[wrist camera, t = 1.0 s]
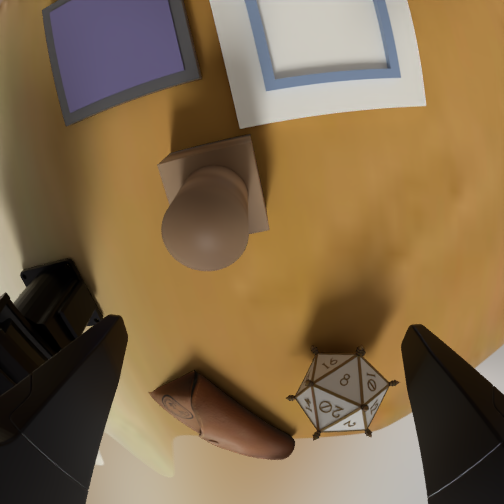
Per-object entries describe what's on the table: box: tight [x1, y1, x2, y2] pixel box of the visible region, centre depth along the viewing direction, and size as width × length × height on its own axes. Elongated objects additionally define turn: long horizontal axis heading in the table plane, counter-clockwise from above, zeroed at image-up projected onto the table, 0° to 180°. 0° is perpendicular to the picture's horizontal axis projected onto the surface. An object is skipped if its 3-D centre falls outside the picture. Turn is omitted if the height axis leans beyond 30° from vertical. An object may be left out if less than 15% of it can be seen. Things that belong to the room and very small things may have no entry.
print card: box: [209, 0, 426, 129], centre depth 14 cm, size 12×12×1 cm
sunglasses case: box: [149, 370, 295, 460], centre depth 31 cm, size 18×7×7 cm
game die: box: [286, 345, 399, 440], centre depth 24 cm, size 9×8×10 cm
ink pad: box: [42, 0, 202, 126], centre depth 14 cm, size 9×9×1 cm
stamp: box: [157, 134, 269, 271], centre depth 16 cm, size 5×5×8 cm
